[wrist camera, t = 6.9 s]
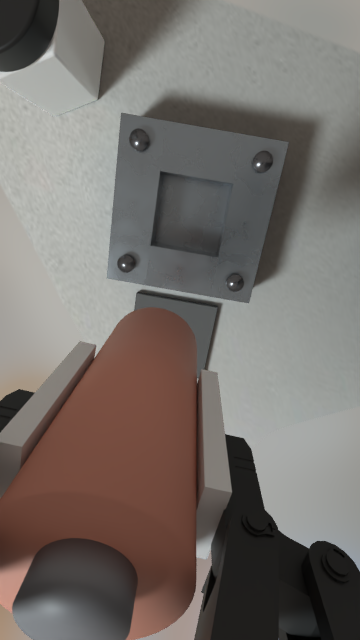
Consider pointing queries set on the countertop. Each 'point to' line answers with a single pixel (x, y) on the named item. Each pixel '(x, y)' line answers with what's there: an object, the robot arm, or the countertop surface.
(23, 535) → the orange cylinder
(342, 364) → the countertop surface
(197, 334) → the rubber pad
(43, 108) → the jar
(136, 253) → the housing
